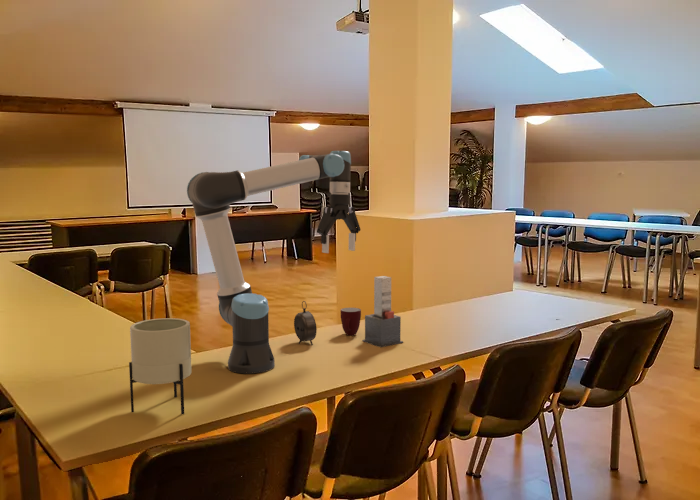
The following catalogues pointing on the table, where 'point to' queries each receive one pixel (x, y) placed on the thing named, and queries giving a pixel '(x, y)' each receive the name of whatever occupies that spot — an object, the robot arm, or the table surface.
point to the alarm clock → (305, 326)
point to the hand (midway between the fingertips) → (338, 251)
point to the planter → (160, 353)
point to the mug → (350, 320)
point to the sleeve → (382, 330)
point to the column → (382, 296)
